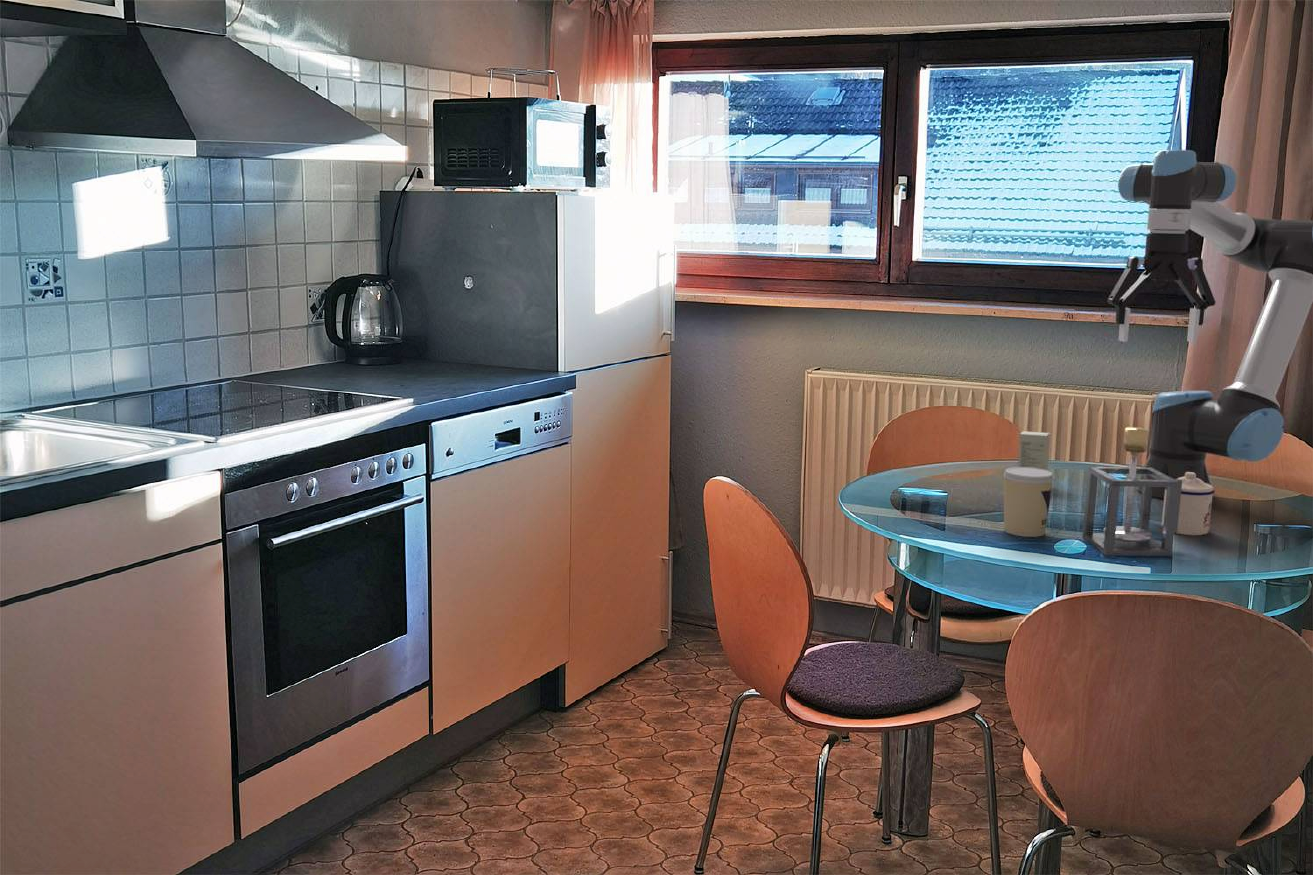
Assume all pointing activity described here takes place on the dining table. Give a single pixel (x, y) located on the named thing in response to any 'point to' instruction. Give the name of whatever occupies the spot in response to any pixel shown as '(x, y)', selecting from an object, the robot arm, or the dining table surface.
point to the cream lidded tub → (1026, 500)
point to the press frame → (1171, 515)
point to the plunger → (1133, 443)
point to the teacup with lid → (1193, 506)
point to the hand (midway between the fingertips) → (1157, 341)
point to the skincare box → (1033, 450)
